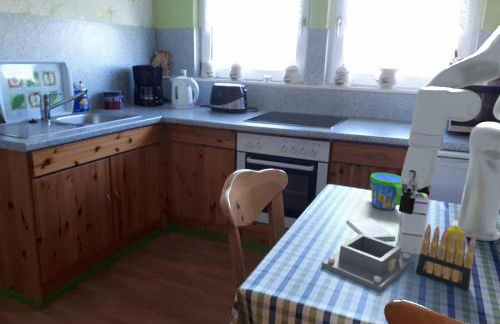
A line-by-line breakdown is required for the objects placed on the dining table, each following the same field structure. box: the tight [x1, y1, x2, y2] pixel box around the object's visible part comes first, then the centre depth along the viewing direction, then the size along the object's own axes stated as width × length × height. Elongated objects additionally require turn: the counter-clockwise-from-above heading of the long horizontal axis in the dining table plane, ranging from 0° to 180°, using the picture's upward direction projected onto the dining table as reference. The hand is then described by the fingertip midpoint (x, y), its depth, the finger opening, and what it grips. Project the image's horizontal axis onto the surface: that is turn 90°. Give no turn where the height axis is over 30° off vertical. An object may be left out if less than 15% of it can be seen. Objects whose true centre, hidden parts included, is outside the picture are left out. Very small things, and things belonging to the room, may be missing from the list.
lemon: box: [440, 226, 464, 256], centre depth 101 cm, size 6×6×8 cm
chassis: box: [321, 234, 415, 293], centre depth 95 cm, size 18×14×5 cm
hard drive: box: [346, 218, 397, 242], centre depth 115 cm, size 2×8×12 cm
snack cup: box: [369, 172, 403, 211], centre depth 133 cm, size 16×10×10 cm
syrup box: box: [396, 190, 431, 256], centre depth 103 cm, size 6×6×14 cm
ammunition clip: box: [415, 223, 477, 292], centre depth 89 cm, size 11×2×12 cm, turn 53°
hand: (413, 208), depth 102 cm, fingers open, 9 cm apart
